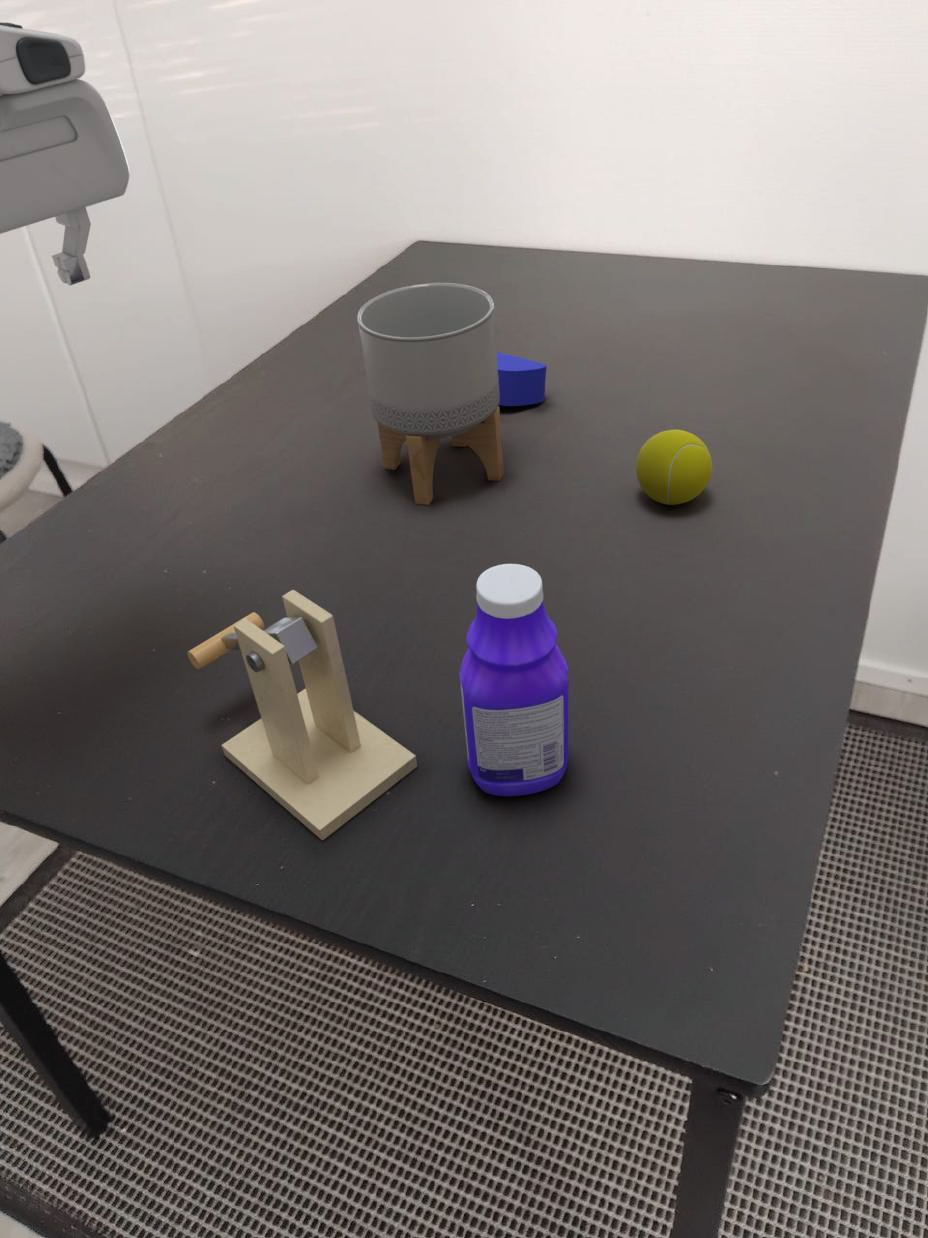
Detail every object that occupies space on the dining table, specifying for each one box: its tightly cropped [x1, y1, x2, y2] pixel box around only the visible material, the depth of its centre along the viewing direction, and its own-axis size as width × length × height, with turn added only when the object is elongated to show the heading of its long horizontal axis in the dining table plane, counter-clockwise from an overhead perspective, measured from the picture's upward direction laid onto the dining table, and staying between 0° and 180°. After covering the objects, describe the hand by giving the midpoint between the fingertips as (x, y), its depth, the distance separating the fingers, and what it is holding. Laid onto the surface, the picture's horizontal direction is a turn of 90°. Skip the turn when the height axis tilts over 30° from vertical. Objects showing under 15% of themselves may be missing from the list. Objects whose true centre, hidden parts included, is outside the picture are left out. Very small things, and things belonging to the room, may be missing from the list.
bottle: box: [458, 563, 570, 797], centre depth 65 cm, size 7×6×17 cm
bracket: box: [221, 589, 418, 841], centre depth 69 cm, size 12×9×14 cm
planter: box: [356, 282, 504, 506], centre depth 98 cm, size 13×13×18 cm
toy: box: [497, 351, 548, 407], centre depth 114 cm, size 12×6×10 cm
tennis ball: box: [635, 429, 713, 506], centre depth 94 cm, size 7×7×7 cm
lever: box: [187, 612, 318, 670], centre depth 70 cm, size 13×6×2 cm, turn 45°
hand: (11, 303), depth 65 cm, fingers open, 8 cm apart
